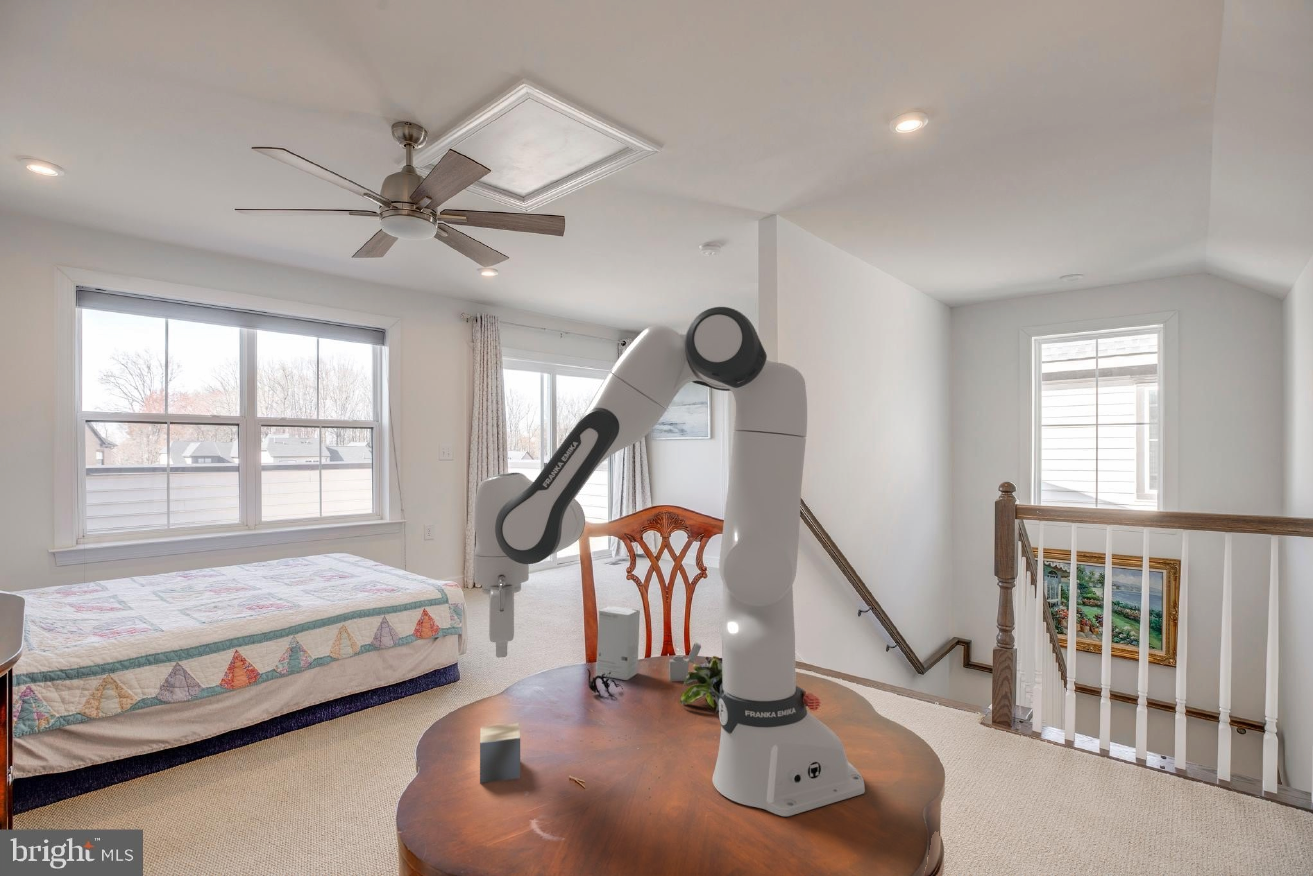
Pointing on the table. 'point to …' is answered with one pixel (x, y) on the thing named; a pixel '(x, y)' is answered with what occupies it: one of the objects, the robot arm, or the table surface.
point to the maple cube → (499, 752)
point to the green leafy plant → (704, 682)
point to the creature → (604, 682)
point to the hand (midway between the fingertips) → (501, 654)
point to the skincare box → (618, 642)
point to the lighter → (682, 664)
